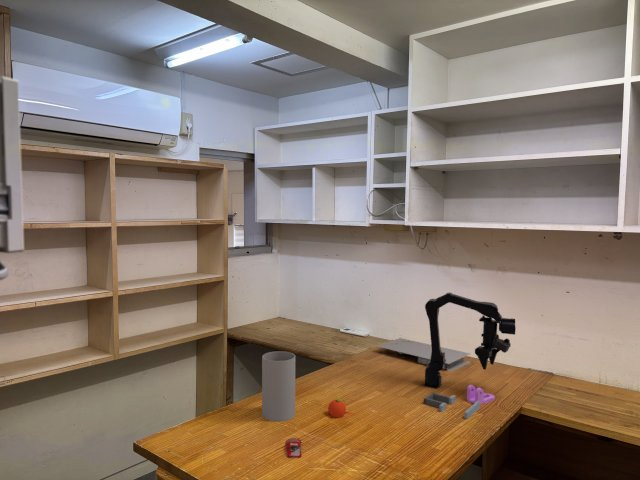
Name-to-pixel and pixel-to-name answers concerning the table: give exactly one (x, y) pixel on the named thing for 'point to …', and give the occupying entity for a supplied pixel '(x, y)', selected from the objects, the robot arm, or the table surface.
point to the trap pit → (433, 397)
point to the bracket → (478, 395)
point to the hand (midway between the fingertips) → (488, 366)
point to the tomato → (337, 408)
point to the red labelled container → (293, 448)
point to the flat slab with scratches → (426, 352)
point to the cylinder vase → (278, 386)
